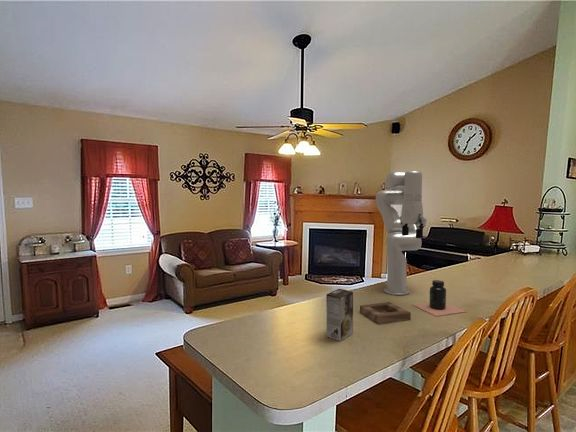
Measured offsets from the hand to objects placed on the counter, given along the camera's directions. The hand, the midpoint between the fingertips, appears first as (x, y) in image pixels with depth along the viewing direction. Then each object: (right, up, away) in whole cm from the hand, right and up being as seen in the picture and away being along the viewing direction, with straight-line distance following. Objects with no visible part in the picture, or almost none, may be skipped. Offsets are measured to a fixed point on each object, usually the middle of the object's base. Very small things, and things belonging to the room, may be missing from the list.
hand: (412, 236), depth 158 cm
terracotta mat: (+12, -32, 0) cm, 34 cm away
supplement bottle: (+11, -32, 0) cm, 34 cm away
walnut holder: (-15, -33, -9) cm, 37 cm away
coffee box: (-37, -35, -29) cm, 58 cm away
